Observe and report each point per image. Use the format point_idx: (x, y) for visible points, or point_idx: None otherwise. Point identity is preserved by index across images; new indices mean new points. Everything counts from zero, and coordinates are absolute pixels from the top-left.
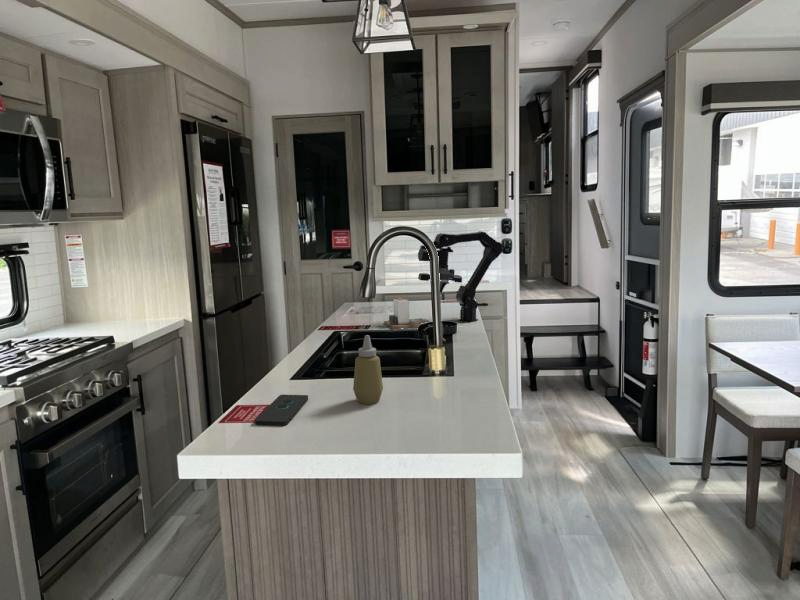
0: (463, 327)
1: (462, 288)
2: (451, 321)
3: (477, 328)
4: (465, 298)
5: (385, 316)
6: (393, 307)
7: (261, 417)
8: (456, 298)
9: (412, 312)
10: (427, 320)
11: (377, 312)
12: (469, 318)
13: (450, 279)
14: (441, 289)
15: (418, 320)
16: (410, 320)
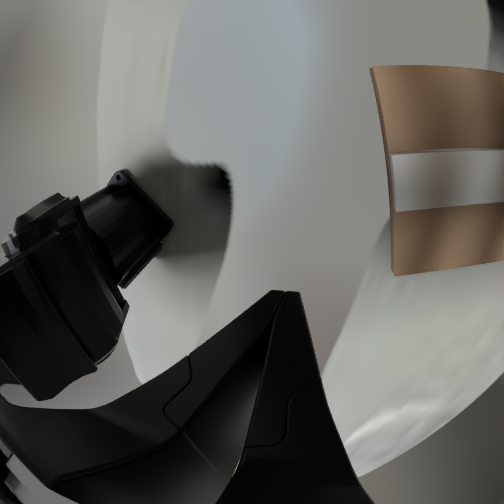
0: (168, 31)
1: (17, 346)
2: (216, 215)
3: (107, 19)
4: (31, 226)
5: (474, 372)
6: None
7: None
8: (117, 328)
9: (353, 414)
10: (398, 154)
11: (453, 416)
12: (113, 193)
13: (2, 466)
14: (208, 369)
15: (458, 160)
16: (497, 178)
